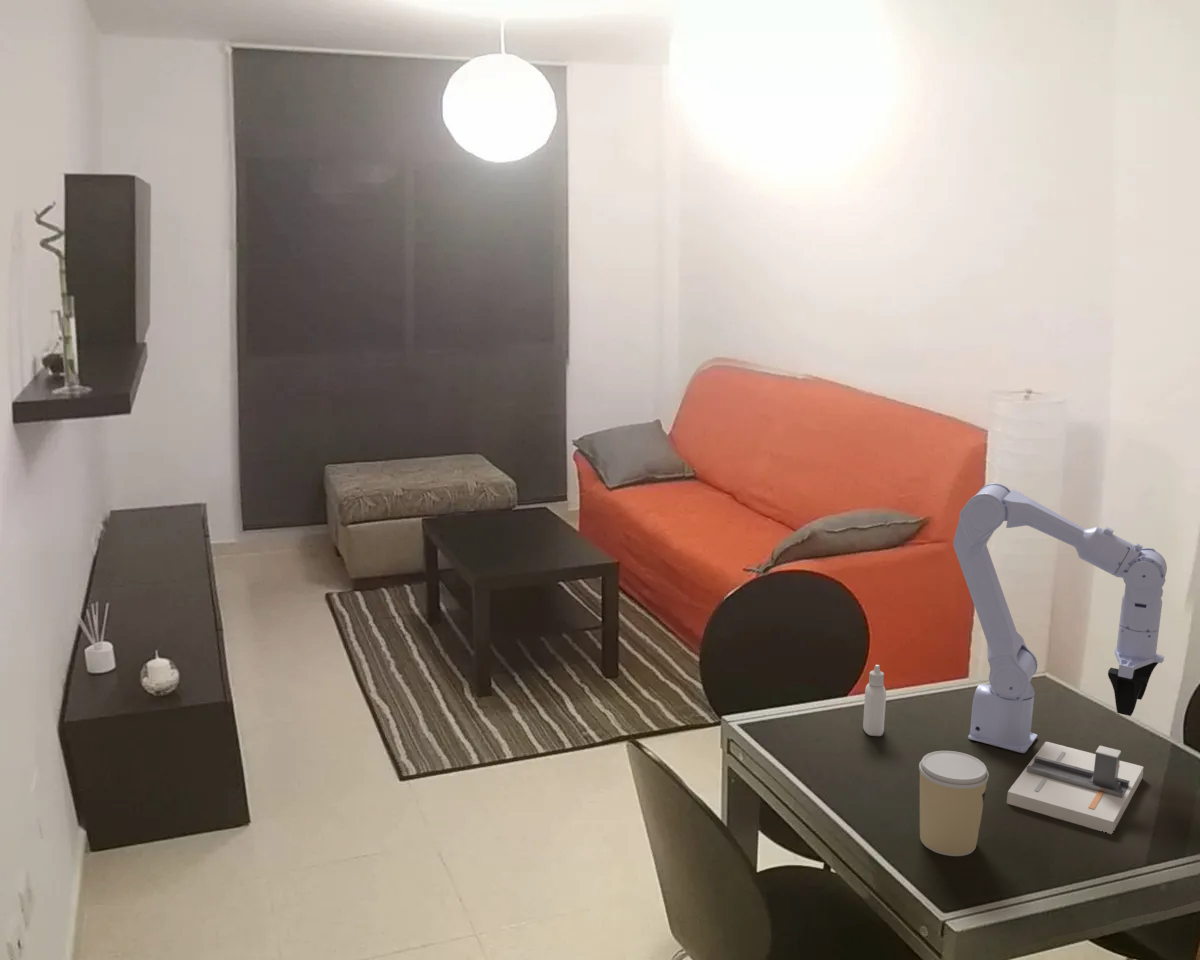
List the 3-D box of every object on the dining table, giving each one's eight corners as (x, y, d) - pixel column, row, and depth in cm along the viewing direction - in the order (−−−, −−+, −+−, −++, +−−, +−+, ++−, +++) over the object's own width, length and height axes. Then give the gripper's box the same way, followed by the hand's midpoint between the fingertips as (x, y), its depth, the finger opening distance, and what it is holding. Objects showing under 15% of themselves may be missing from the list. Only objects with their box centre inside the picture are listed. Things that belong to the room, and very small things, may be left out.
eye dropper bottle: (891, 727, 197) (895, 663, 194) (879, 739, 192) (883, 673, 190) (867, 721, 199) (871, 657, 197) (855, 732, 195) (858, 667, 192)
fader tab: (1088, 784, 173) (1092, 750, 171) (1092, 778, 174) (1096, 744, 173) (1116, 792, 170) (1120, 757, 169) (1120, 786, 172) (1124, 751, 171)
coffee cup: (996, 853, 157) (1003, 775, 155) (937, 864, 155) (943, 784, 152) (957, 820, 166) (963, 745, 164) (901, 830, 164) (906, 754, 161)
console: (1006, 803, 171) (1008, 786, 171) (1044, 752, 188) (1046, 736, 187) (1112, 834, 163) (1114, 816, 162) (1142, 778, 179) (1144, 762, 178)
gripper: (1157, 645, 170) (1147, 727, 173) (1175, 618, 181) (1165, 696, 185) (1107, 635, 174) (1098, 716, 177) (1128, 609, 186) (1119, 686, 189)
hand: (1129, 705), depth 181 cm, fingers open, 7 cm apart
